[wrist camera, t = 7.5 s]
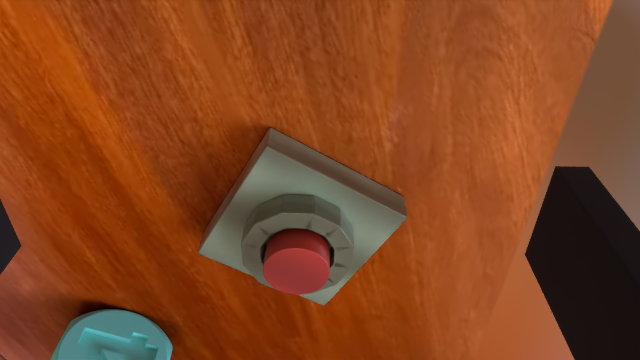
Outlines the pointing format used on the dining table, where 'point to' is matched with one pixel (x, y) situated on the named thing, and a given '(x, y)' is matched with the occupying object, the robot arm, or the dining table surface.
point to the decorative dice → (113, 338)
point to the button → (296, 261)
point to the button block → (301, 211)
